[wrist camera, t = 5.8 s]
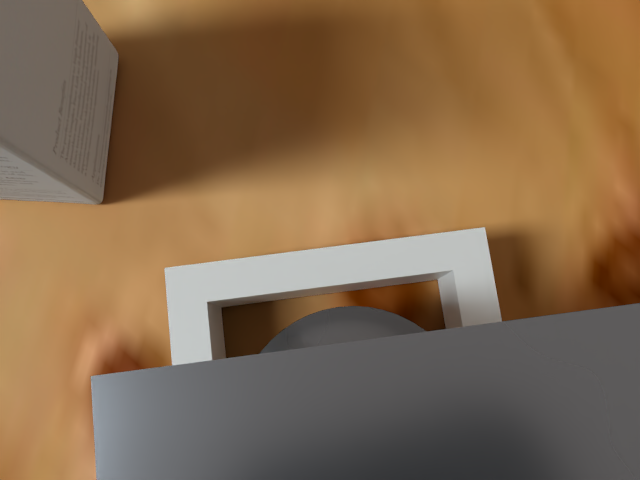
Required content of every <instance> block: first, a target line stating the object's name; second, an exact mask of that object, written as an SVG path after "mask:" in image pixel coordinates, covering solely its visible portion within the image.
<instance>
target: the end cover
mask: <svg viewBox="0 0 640 480" xmlns="http://www.w3.org/2000/svg"><path fill="white" fill-rule="evenodd" d="M91 387H92V405H93V423H94V441H95V459H96V477H97V480H640V303H637V304H630V305H622V306H615V307H607V308H600V309H592V310H585V311H577V312H570V313H562V314H555V315H547V316H540V317H532V318H525V319H517V320H510V321H502V322H495V323H487V324H480V325H472V326H465V327H457V328H450V329H442V330H435V331H427V332H426V331H425V330H424V329H422V328H421V327H419V326H418V325H416V324H415V323H413V322H411V321H409V320H407V319H405V318H403V317H401V316H399V315H397V314H394V313H391V312H388V311H385V310H380V309H375V308H370V307H359V306H348V307H336V308H331V309H326V310H322V311H319V312H316V313H313V314H310V315H308V316H306V317H304V318H302V319H300V320H298V321H296V322H294V323H293V324H291V325H290V326H288V327H287V328H285V329H284V330H282V331H281V332H280V333H279V334H278V335H277V336H275V337H274V338H273V339H272V340H271V341H270V342H269V343H268V344H267V345H266V346H265V348H264V349H263V350H262V351H261V352H260V354H255V355H247V356H240V357H232V358H225V359H217V360H210V361H202V362H195V363H187V364H180V365H172V366H165V367H157V368H150V369H142V370H135V371H127V372H120V373H112V374H105V375H97V376H91Z"/></svg>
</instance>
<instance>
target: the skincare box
mask: <svg viewBox="0 0 640 480" xmlns="http://www.w3.org/2000/svg"><path fill="white" fill-rule="evenodd" d="M118 58H119V55H118V52H117V51H116V49H115V47H114V46H113V45H112V43H111V42H110V40H109V39H108V37H107V36H106V34H105V33H104V31H103V30H102V29H101V27H100V26H99V24H98V23H97V21H96V20H95V18H94V17H93V15H92V14H91V12H90V11H89V9H88V8H87V7H86V5H85V4H84V2H83V1H82V0H0V199H7V200H24V201H48V202H67V203H83V204H100V203H101V202H102V201H103V195H104V185H105V175H106V166H107V157H108V149H109V140H110V131H111V122H112V113H113V104H114V95H115V85H116V77H117V68H118Z"/></svg>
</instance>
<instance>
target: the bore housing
mask: <svg viewBox="0 0 640 480" xmlns="http://www.w3.org/2000/svg"><path fill="white" fill-rule="evenodd" d="M165 280H166V293H167V305H168V318H169V330H170V343H171V356H172V365H180V364H187V363H195V362H202V361H210V360H217V359H225V358H226V352H225V342H224V331H223V321H222V310H221V307H227V306H235V305H243V304H251V303H258V302H266V301H274V300H282V299H290V298H297V297H305V296H313V295H321V294H329V293H336V292H344V291H352V290H360V289H368V288H375V287H383V286H391V285H399V284H407V283H414V282H422V281H430V280H438V285H439V291H440V297H441V303H442V309H443V315H444V321H445V327H446V329H450V328H457V327H465V326H472V325H480V324H487V323H495V322H502V318H501V313H500V307H499V302H498V297H497V291H496V286H495V280H494V275H493V269H492V264H491V258H490V253H489V247H488V242H487V236H486V231H485V227H483V228H475V229H468V230H460V231H452V232H444V233H436V234H428V235H420V236H412V237H405V238H397V239H389V240H381V241H373V242H365V243H357V244H350V245H342V246H334V247H326V248H318V249H310V250H302V251H294V252H287V253H279V254H271V255H263V256H255V257H247V258H239V259H232V260H224V261H216V262H208V263H200V264H192V265H184V266H176V267H169V268H165Z"/></svg>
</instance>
